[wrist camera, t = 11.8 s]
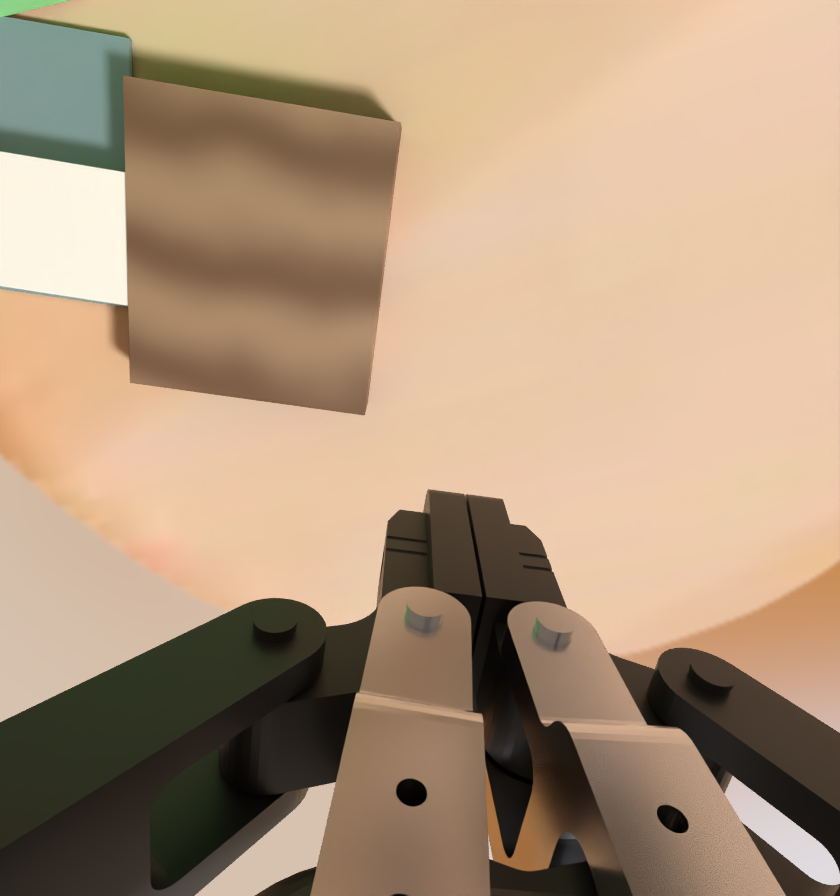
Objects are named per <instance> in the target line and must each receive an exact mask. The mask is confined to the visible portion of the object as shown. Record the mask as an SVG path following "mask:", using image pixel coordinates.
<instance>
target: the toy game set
mask: <svg viewBox="0 0 840 896" xmlns="http://www.w3.org/2000/svg"><path fill="white" fill-rule="evenodd" d="M65 1H69V0H0V17H4V16H8V15H12V14H16V13H20V12H24V11H28V10H32V9H36V8H41V7H45V6H49V5H53V4H57V3H61V2H65Z"/></svg>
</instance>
